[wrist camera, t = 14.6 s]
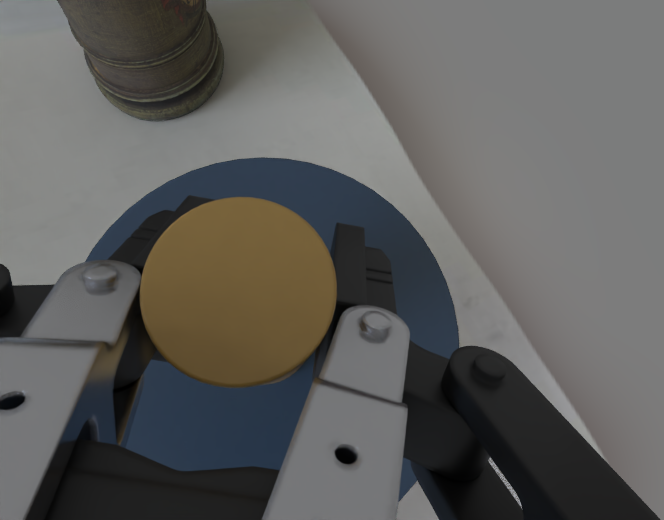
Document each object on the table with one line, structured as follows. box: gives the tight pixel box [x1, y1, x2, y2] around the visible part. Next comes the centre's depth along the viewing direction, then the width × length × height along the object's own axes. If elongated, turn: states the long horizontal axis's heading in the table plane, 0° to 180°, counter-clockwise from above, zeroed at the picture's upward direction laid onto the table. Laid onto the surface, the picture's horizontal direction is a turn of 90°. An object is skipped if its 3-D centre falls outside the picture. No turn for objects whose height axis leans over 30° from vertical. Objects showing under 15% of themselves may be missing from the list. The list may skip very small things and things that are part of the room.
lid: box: [85, 158, 459, 502], centre depth 12 cm, size 14×14×10 cm
